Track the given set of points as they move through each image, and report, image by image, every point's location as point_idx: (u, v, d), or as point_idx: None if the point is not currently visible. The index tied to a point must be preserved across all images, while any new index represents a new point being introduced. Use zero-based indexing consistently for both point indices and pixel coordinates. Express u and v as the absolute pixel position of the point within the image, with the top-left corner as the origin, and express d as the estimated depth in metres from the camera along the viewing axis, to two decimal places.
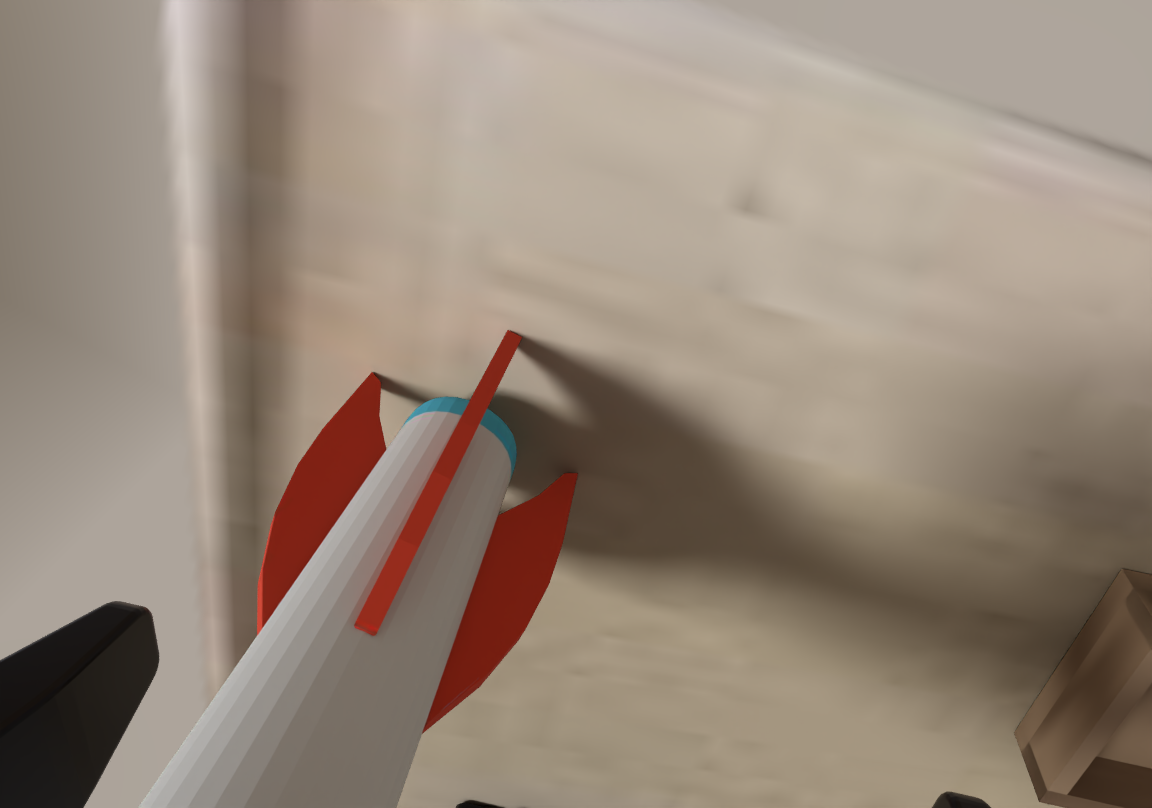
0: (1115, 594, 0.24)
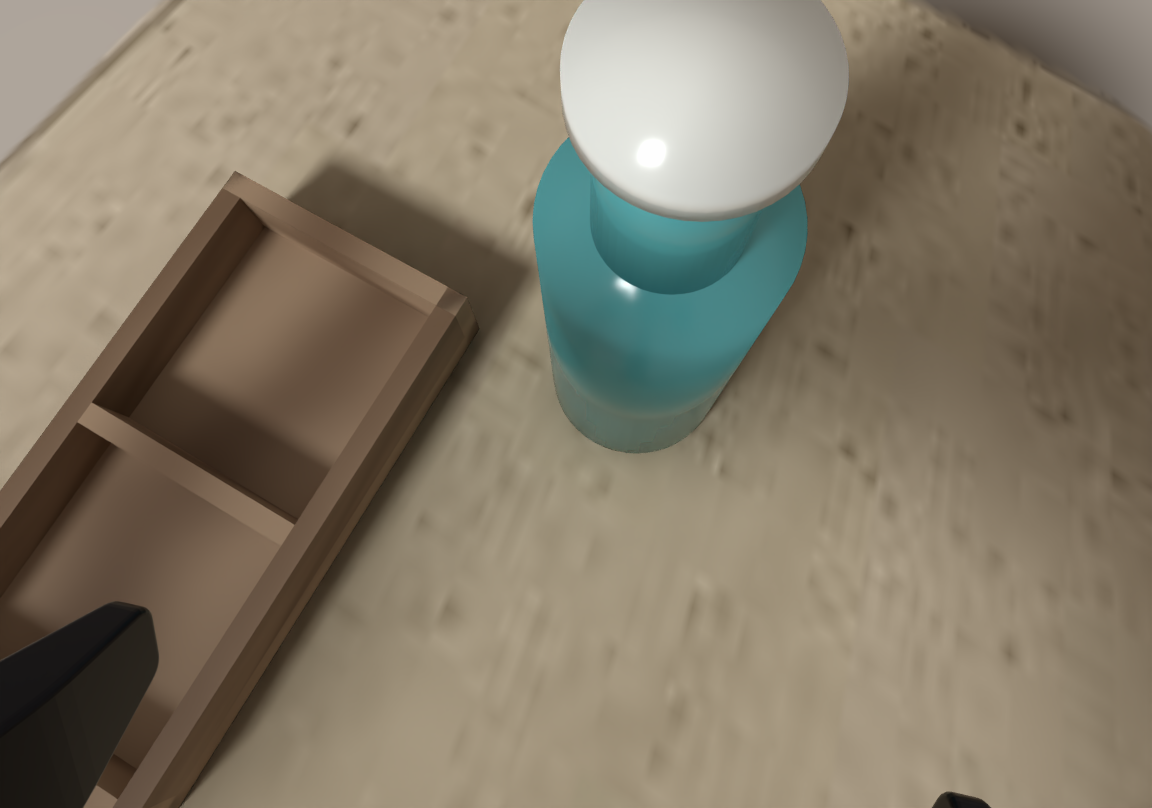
0: None
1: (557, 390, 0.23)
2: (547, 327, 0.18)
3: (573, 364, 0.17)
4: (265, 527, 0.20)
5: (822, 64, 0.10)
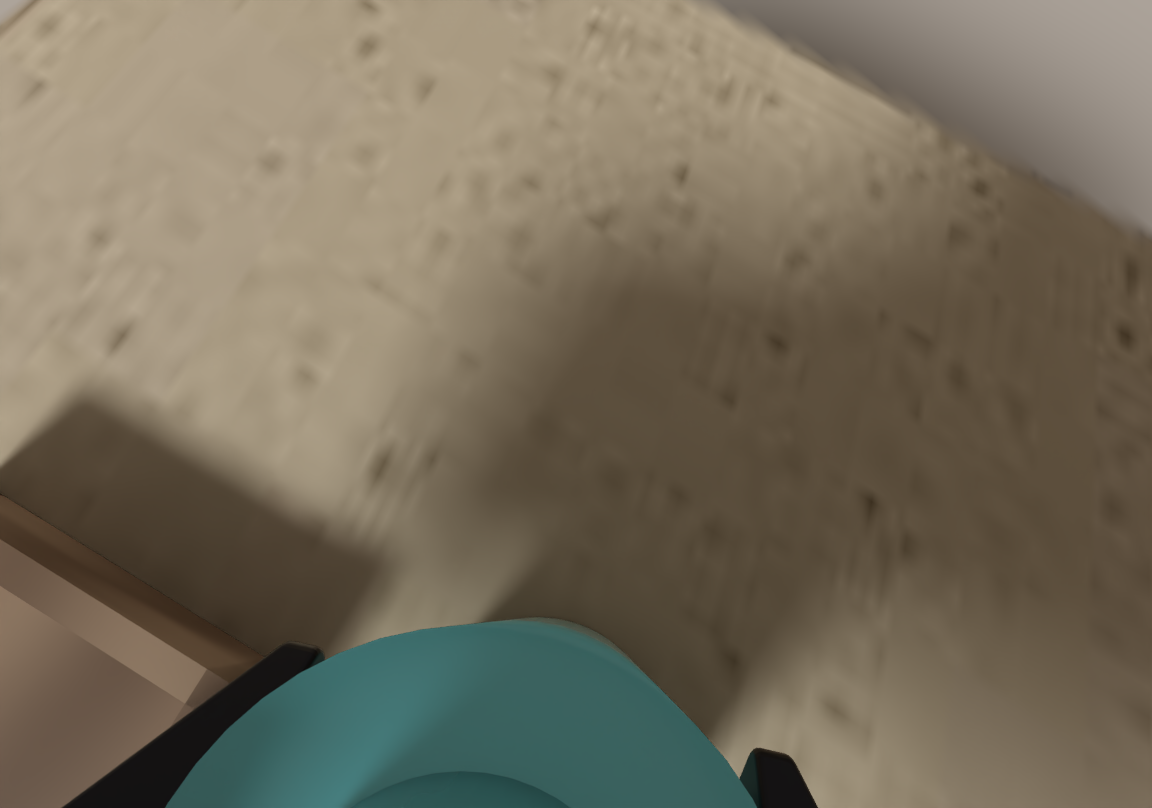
0: None
1: None
2: None
3: None
4: None
5: None
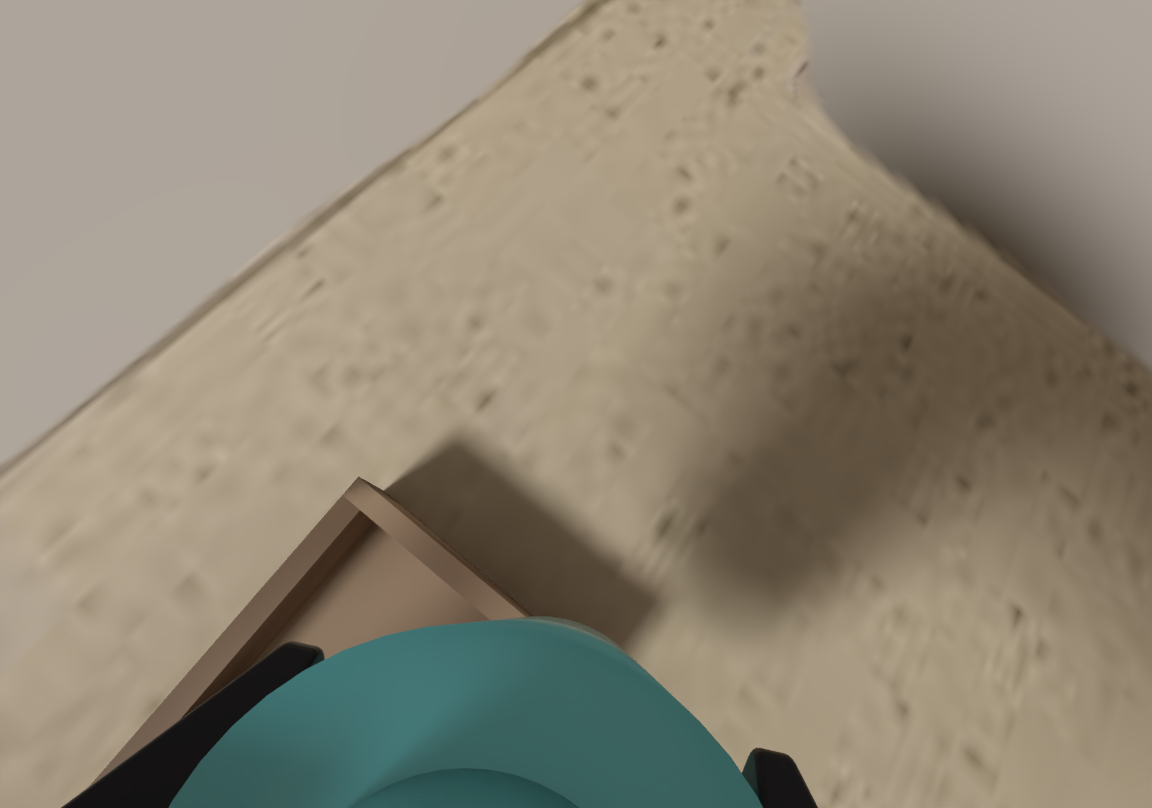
0: None
1: None
2: None
3: None
4: None
5: None
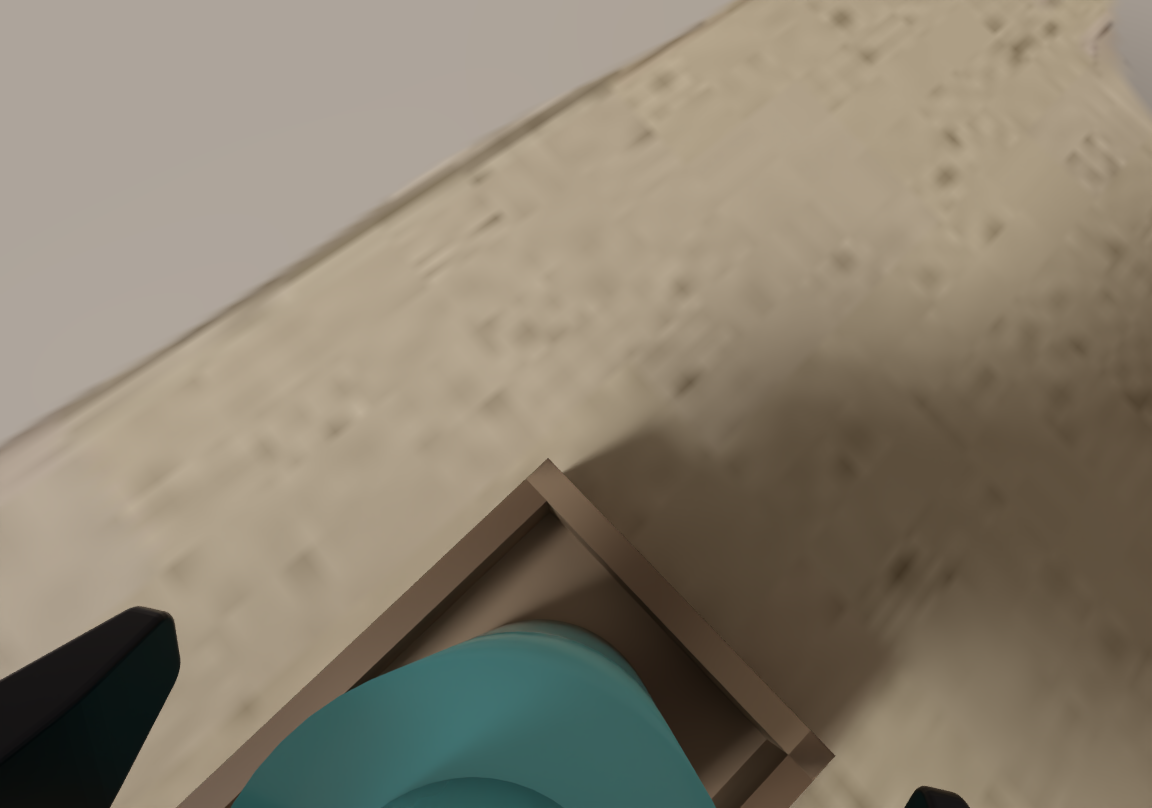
0: None
1: None
2: None
3: None
4: None
5: None
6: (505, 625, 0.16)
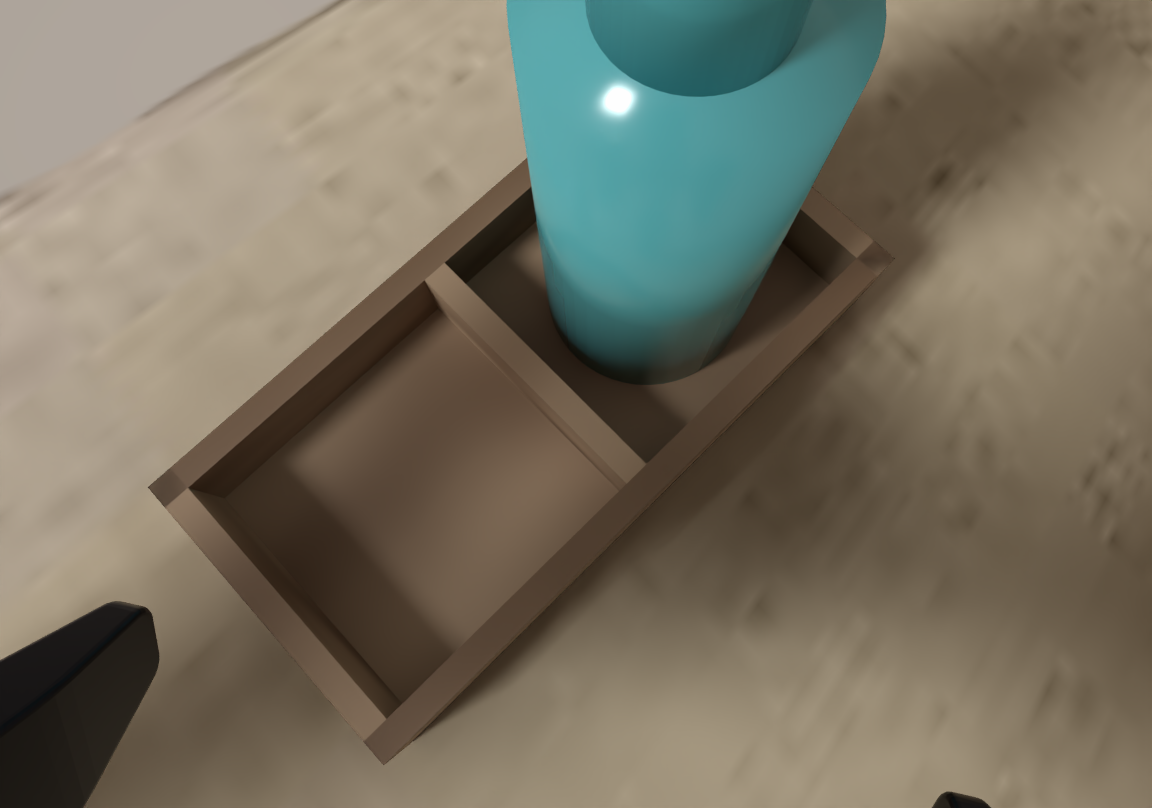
0: None
1: (551, 307, 0.19)
2: (534, 198, 0.14)
3: (568, 238, 0.13)
4: (612, 457, 0.17)
5: None
6: None
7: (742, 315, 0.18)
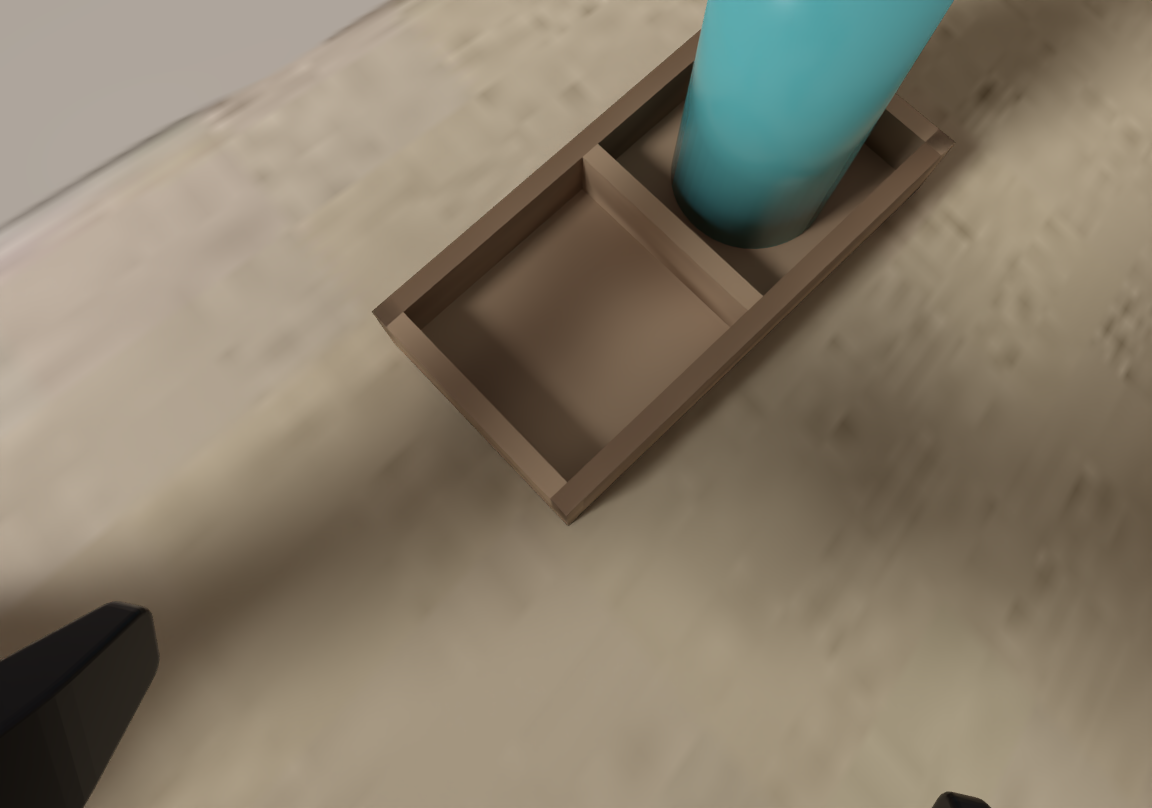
0: (406, 355, 0.24)
1: (682, 181, 0.23)
2: (706, 68, 0.19)
3: (739, 91, 0.18)
4: (736, 291, 0.22)
5: None
6: None
7: (838, 183, 0.23)
